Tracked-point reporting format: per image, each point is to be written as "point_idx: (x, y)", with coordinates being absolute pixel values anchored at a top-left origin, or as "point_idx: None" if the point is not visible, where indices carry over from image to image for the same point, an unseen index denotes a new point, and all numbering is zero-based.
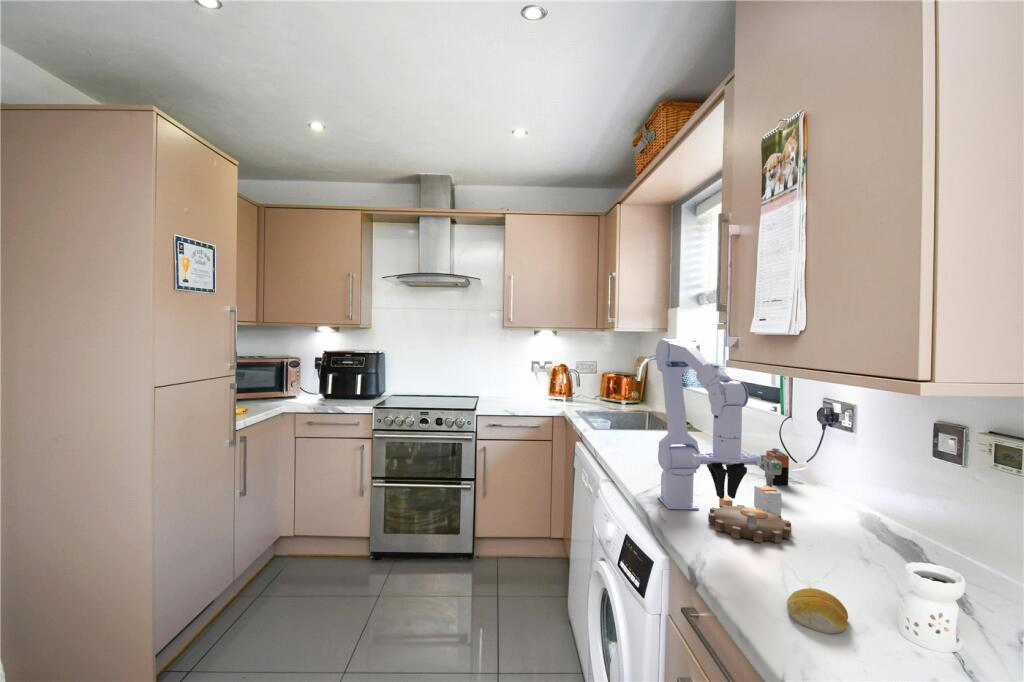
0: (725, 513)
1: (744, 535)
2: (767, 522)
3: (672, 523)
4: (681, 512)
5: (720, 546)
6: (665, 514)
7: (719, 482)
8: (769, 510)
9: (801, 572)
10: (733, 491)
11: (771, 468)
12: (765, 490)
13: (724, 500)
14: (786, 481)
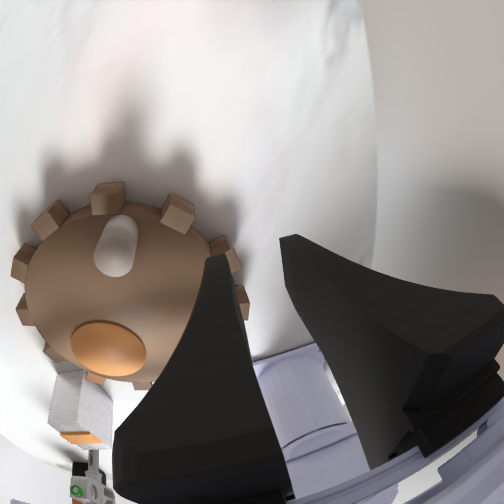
0: None
1: (149, 208)
2: (70, 299)
3: None
4: (295, 337)
5: (249, 123)
6: None
7: (380, 274)
8: (76, 384)
9: (46, 16)
10: (227, 274)
11: (87, 487)
12: (83, 433)
13: None
14: (74, 468)
